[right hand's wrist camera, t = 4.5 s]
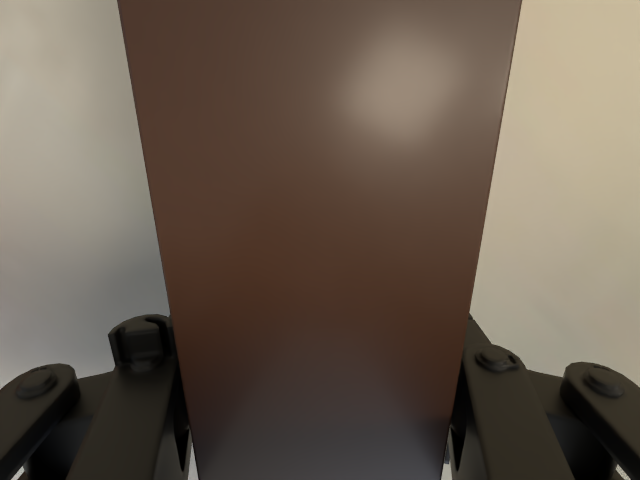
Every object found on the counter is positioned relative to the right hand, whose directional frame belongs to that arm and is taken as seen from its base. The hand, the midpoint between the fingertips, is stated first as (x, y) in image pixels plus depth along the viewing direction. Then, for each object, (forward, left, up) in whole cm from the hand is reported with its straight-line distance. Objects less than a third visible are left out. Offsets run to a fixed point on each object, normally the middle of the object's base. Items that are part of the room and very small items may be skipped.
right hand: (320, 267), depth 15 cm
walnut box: (0, -10, -1) cm, 10 cm away
